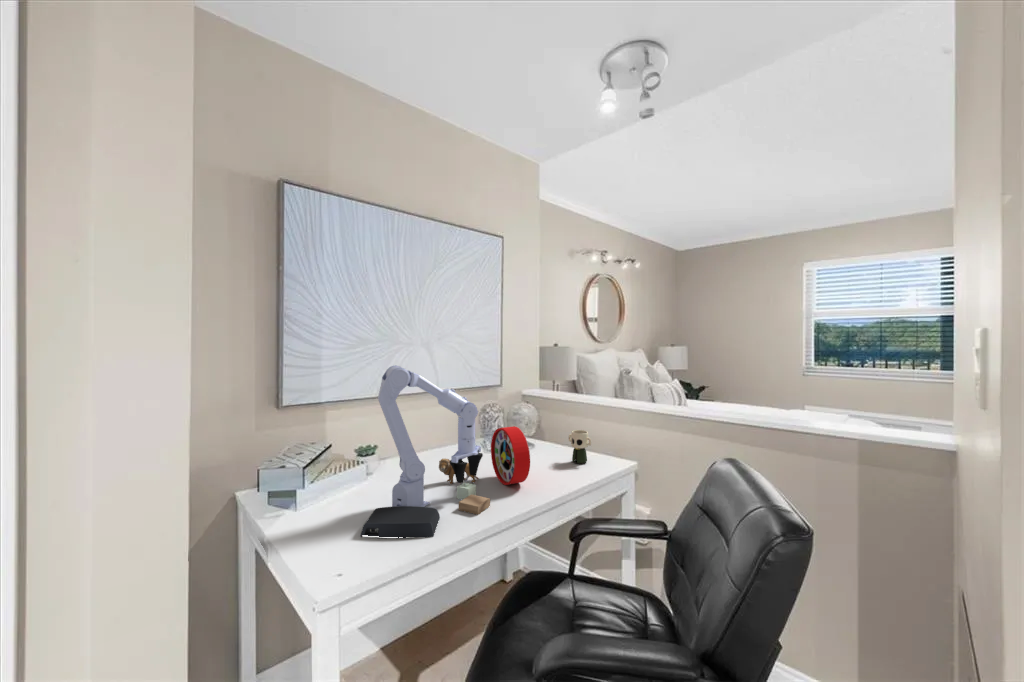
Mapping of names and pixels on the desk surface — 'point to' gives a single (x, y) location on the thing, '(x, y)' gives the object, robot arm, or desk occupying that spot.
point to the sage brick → (465, 490)
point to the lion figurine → (448, 470)
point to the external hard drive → (402, 522)
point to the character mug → (579, 445)
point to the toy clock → (510, 455)
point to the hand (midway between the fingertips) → (466, 478)
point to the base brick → (474, 504)
